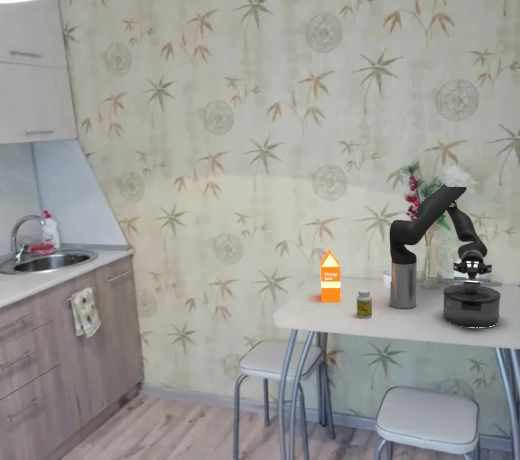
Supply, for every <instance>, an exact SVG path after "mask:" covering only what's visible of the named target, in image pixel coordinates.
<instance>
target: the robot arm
mask: <svg viewBox="0 0 520 460" xmlns="http://www.w3.org/2000/svg"><path fill="white" fill-rule="evenodd" d="M467 188H468V187H467ZM467 188H466V187H447V186H446V185H445V184H444V185H443V186H442V187H441V188H440V189H438V188H437V190H435V191H434V192H432V193H431V194H430V195H428V196H427V197H426V198H424V199H423V201H421V202H420V203H419V205H418V207H417V210H416V215H417V219H416V220H403V219H395V220H393V221H392V222H391V224H390V227H389V233H388V235H389V236H388V237H389V253H390V257H391V280H390V283H389V284H390V285H389V286H390V287H389V288H390V293H389V296H390V297H389V298H390V299H389V300H390V301H389V302H390V307H395V308H397V309H413V308H416V306H417V269H418V268H417V262H418V261H417V260H418V259H417V255H416V254H415V253H414V252H413V251H410V250H409V249H408V248H407V247H406V246H416V245H417V244H418V243H420V241H421V240H422V239H423V237H424V236H425V235H426V233H427V231H428V230H429V229H430V228H431V227H432V226H433V225H434V224H435V223H436V222H437V221H438V220H439V219H440V218H441V217H442V216H443V215H444V214H445V212H447V213H448V216H449V218H450V219H451V221H452V224H453V227H454V230H455V233H456V236H457V238H458V241H460V242H463V243H465V244H462V245H461V246H459V247H458V248H457V255H458V257H459V259H460V263H457V262H453V263H452V264H453V266H452V267H453V268H452V269H453V271H454V272H458V273H460V274H463V275H465V274H466V275H467V276H468V275H469V276H470V277H474V276H476V277H477V276H478V275H480V276H481V275H485V274H486V275H487V274H489V273H492V272H493V265H492V264H486V263H485V261H484V258H485V257H486V256H487V255H488V248H487V246H486V244H485V243H484V242H483V241H482V240H481V238H480V237H479V235H478V234H477V232H476V229H475V226H474V224H473V221H472V219H471V217H470V216H469V215H468V214H467V213H465V212H464V211H462V210H461V209H460V208H459V207H458V205H457V200H458V199H460V197H461V196H463V195H464V194H465V192H466V191H467ZM455 200H456V202H455ZM451 203H454V204H455V206H454V207H449V206H450V205H451ZM468 242H469V243H468Z"/></svg>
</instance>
